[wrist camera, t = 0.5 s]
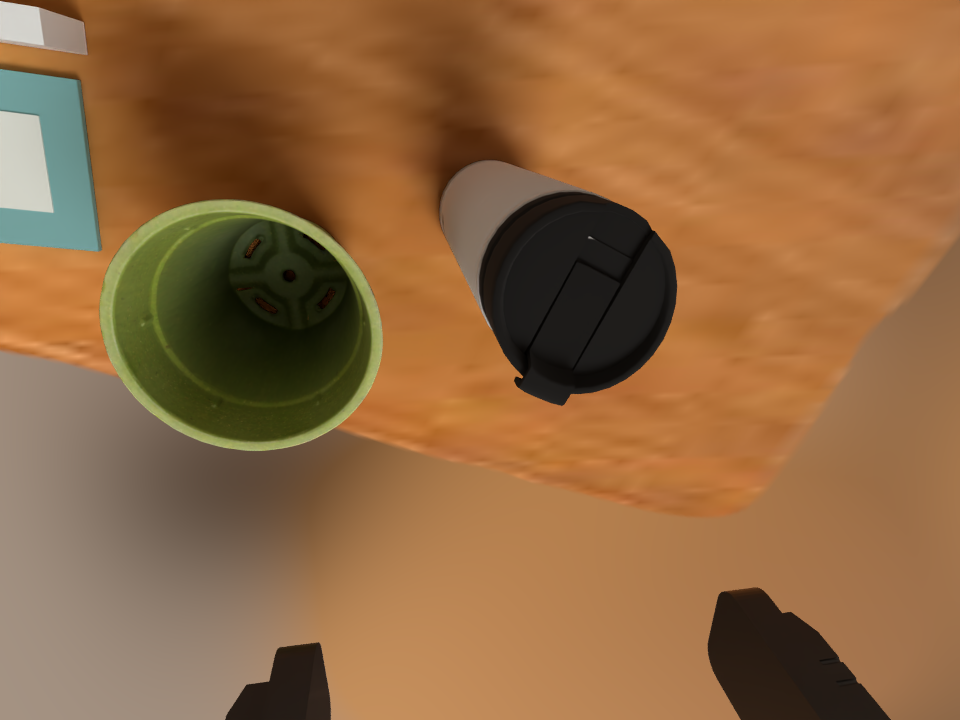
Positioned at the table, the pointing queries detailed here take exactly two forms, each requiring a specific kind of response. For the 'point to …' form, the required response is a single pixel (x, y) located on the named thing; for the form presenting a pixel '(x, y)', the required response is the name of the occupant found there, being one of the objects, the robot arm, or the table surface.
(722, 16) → the table surface
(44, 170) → the resting pad
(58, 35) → the divider wall
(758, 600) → the robot arm
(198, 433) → the plant pot
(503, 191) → the travel mug
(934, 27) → the table surface
